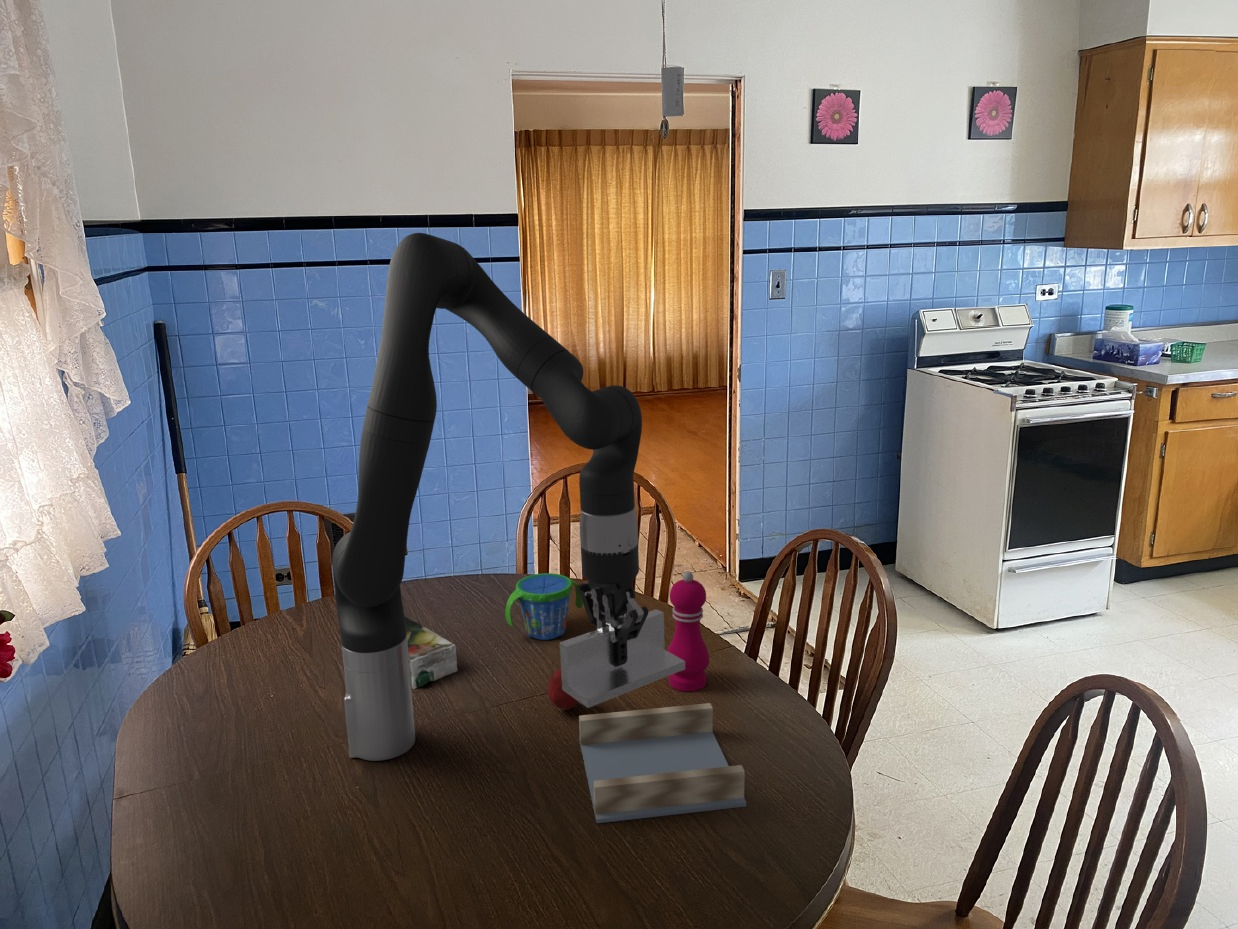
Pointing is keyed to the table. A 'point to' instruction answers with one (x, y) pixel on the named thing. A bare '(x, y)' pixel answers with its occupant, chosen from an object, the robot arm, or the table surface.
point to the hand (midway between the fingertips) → (614, 661)
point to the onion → (559, 693)
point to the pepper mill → (688, 634)
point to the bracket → (600, 680)
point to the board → (655, 768)
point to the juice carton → (428, 655)
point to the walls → (666, 785)
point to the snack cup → (543, 604)
